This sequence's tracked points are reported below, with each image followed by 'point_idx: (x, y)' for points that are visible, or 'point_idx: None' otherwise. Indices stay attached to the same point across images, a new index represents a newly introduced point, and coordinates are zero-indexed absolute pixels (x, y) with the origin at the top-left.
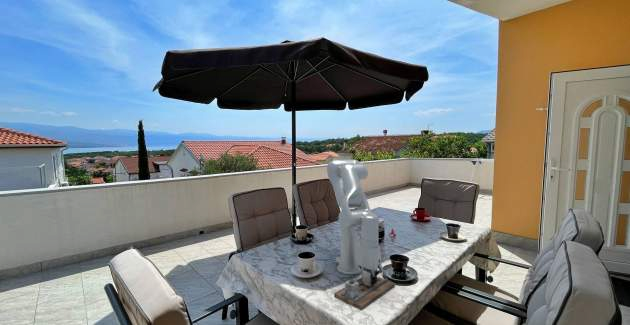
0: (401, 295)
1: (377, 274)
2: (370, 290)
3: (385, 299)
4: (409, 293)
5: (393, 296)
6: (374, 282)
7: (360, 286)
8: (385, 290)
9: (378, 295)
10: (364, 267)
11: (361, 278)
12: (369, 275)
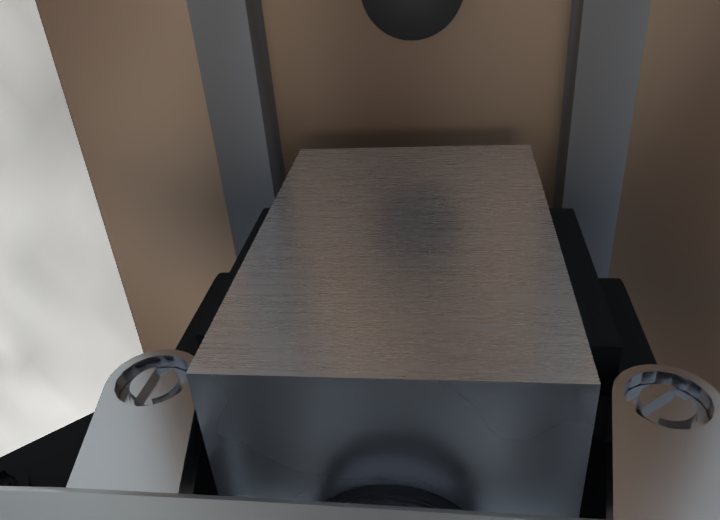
0: (7, 367)
1: (17, 454)
2: (193, 24)
3: (21, 123)
4: (3, 455)
5: (36, 281)
6: (224, 275)
7: (550, 73)
8: (135, 299)
9: (65, 68)
10: (468, 516)
11: (716, 361)
12: (250, 307)
